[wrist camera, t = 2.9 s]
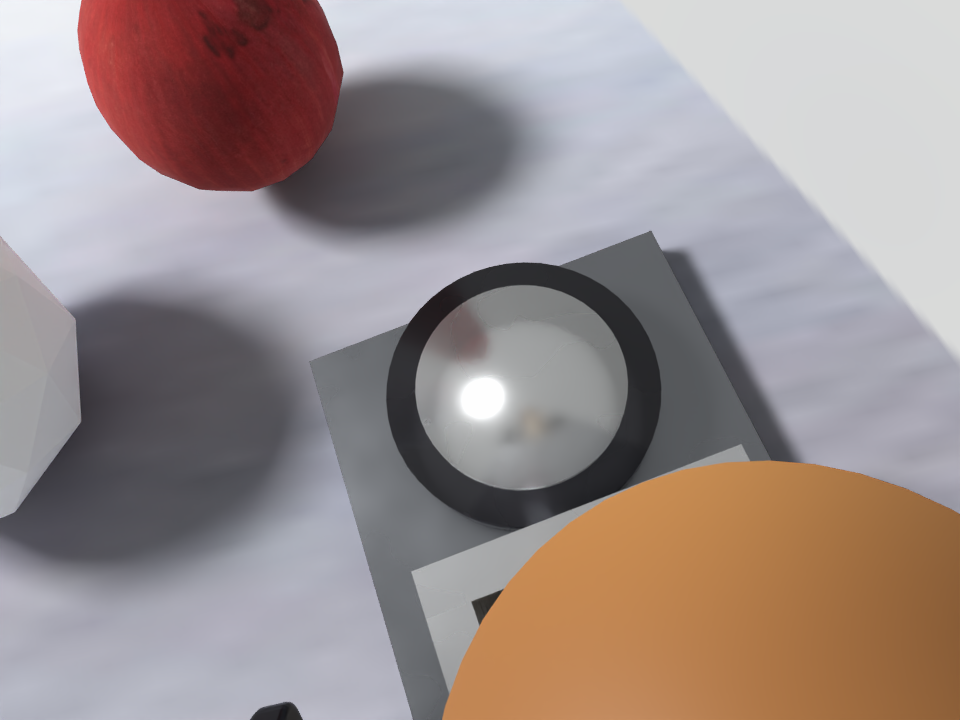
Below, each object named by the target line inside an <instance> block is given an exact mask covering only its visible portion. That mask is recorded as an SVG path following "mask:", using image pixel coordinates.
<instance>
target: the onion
mask: <svg viewBox="0 0 960 720" xmlns="http://www.w3.org/2000/svg"><path fill="white" fill-rule="evenodd" d="M78 40H79V50H80V54H81V58H82V62H83V66H84V70H85V74H86V78H87V82H88V85H89V88H90V90H91V93H92V96H93V98H94V101H95V103H96V106H97V107H98V109H99V111H100V112H101V114H102V115H103V117H104V118H105V120H106V122H107V123H108V125H109V126H110V128H111V129H112V130H113V131H114V133H115V134H116V135H117V136H118V137H119V138H120V139H121V140H122V141H123V142H124V143H125V144H126V145H127V147H128V148H129V149H130V150H131V151H132V152H133V153H134V154H135V155H136V156H137V157H138V158H139V159H140V160H141V161H143V162H144V163H146V164H147V165H149V166H150V167H152V168H153V169H154V170H156V171H157V172H159V173H160V174H162V175H165V176H167V177H170V178H172V179H175V180H177V181H180V182H182V183H185V184H187V185H190V186H192V187H195V188H197V189H201V190H215V191H254V190H257V189H260V188H263V187H266V186H268V185H271V184H274V183H277V182H280V181H283V180H285V179H286V178H288V177H289V176H290V175H291V174H293V173H294V172H296V171H297V170H298V169H300V168H301V167H303V166H304V165H305V164H306V163H308V162H309V161H310V160H311V159H312V158H313V157H314V155H315V154H316V152H317V151H318V149H319V148H320V146H321V145H322V143H323V142H324V140H325V139H326V137H327V136H328V134H329V133H330V131H331V130H332V126H333V122H334V118H335V113H336V109H337V104H338V98H339V93H340V88H341V83H342V77H343V68H342V64H341V60H340V55H339V51H338V47H337V43H336V41H335V38H334V36H333V33H332V31H331V29H330V26H329V24H328V21H327V19H326V16H325V14H324V11H323V9H322V7H321V6H320V4H319V2H318V1H317V0H82V1H81V7H80V13H79V22H78Z"/></svg>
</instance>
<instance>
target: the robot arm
mask: <svg viewBox="0 0 960 720" xmlns="http://www.w3.org/2000/svg"><path fill="white" fill-rule="evenodd" d="M250 720H303V719H302V717H301V715H300V713H299V711H298V709H297V708H296V706H295V705H294V704H293V703H291V702H283V703H279V704H275V705H270V706H266V707H263V708H260V709H259V710H258V711H257V712H256V713H255V714H254V715H253V716H252V718H251V719H250Z"/></svg>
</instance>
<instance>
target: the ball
mask: <svg viewBox="0 0 960 720" xmlns="http://www.w3.org/2000/svg"><path fill="white" fill-rule="evenodd" d="M80 423H81V407H80V390H79V372H78V354H77V336H76V319H75V318H74V317H73V316H72V315H71V314H70V313H69V311H68V310H67V309H66V308H65V307H64V306H63V305H62V304H61V303H60V301H59V300H58V299H57V298H56V297H55V296H54V295H53V294H52V293H51V292H50V290H49V289H48V288H47V287H46V286H45V285H44V284H43V283H42V282H41V281H40V279H39V278H38V277H37V276H36V275H35V274H34V273H33V272H32V271H31V269H30V268H29V267H28V266H27V265H26V264H25V263H24V262H23V261H22V260H21V258H20V257H19V256H18V255H17V254H16V253H15V252H14V251H13V250H12V248H11V247H10V246H9V245H8V244H7V243H6V242H5V241H4V240H3V239H2V237H1V236H0V518H2V517H4V516H7V515H9V514H12V513H14V512H15V511H16V510H17V509H18V507H19V506H20V505H21V503H22V502H23V500H24V499H25V498H26V496H27V495H28V494H29V492H30V491H31V490H32V488H33V487H34V485H35V484H36V483H37V481H38V480H39V479H40V477H41V476H42V475H43V473H44V472H45V470H46V469H47V468H48V466H49V465H50V464H51V462H52V461H53V460H54V458H55V457H56V455H57V454H58V453H59V451H60V450H61V449H62V447H63V446H64V445H65V443H66V442H67V440H68V439H69V438H70V436H71V435H72V434H73V432H74V431H75V429H76V428H77V427H78V425H79V424H80Z"/></svg>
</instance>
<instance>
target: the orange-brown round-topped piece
mask: <svg viewBox="0 0 960 720" xmlns="http://www.w3.org/2000/svg"><path fill="white" fill-rule="evenodd" d="M442 720H960V514H959V513H957V512H955V511H954V510H952V509H950V508H947V507H945V506H943V505H941V504H939V503H936V502H934V501H932V500H930V499H928V498H925V497H923V496H921V495H919V494H917V493H914V492H912V491H910V490H908V489H906V488H903V487H899V486H896V485H893V484H890V483H887V482H884V481H881V480H878V479H875V478H872V477H869V476H866V475H863V474H860V473H855V472H850V471H845V470H840V469H835V468H830V467H825V466H821V465H816V464H805V463H793V462H781V461H747V462H725V463H719V464H713V465H707V466H702V467H696V468H690V469H684V470H681V471H677V472H674V473H671V474H668V475H665V476H661V477H658V478H655V479H652V480H648V481H645V482H642V483H640V484H638V485H636V486H634V487H632V488H630V489H627V490H625V491H623V492H621V493H619V494H617V495H615V496H612V497H610V498H608V499H606V500H604V501H603V502H601V503H599V504H598V505H596V506H595V507H593V508H592V509H590V510H589V511H587V512H585V513H584V514H582V515H581V516H579V517H578V518H576V519H575V520H573V521H571V522H570V523H569V524H568V525H566V526H565V527H564V528H563V529H562V530H560V531H559V532H558V533H557V534H556V535H555V536H553V537H552V538H551V539H550V540H549V541H548V542H546V543H545V544H544V545H543V546H542V547H541V548H539V549H538V550H537V551H536V552H535V553H534V555H533V556H532V557H531V558H530V559H529V560H528V561H527V562H526V563H525V565H524V566H523V567H522V568H521V569H520V570H519V571H518V572H517V573H516V575H515V576H514V577H513V578H512V579H511V580H510V581H509V582H508V584H507V585H506V587H505V588H504V590H503V591H502V592H501V594H500V595H499V597H498V598H497V600H496V601H495V603H494V604H493V606H492V607H491V609H490V610H489V611H488V613H487V614H486V616H485V617H484V619H483V620H482V622H481V624H480V626H479V628H478V630H477V632H476V634H475V636H474V638H473V640H472V642H471V644H470V646H469V648H468V650H467V652H466V654H465V656H464V658H463V659H462V662H461V664H460V667H459V670H458V673H457V675H456V678H455V681H454V684H453V686H452V689H451V692H450V695H449V697H448V700H447V703H446V705H445V709H444V714H443V718H442Z"/></svg>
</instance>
